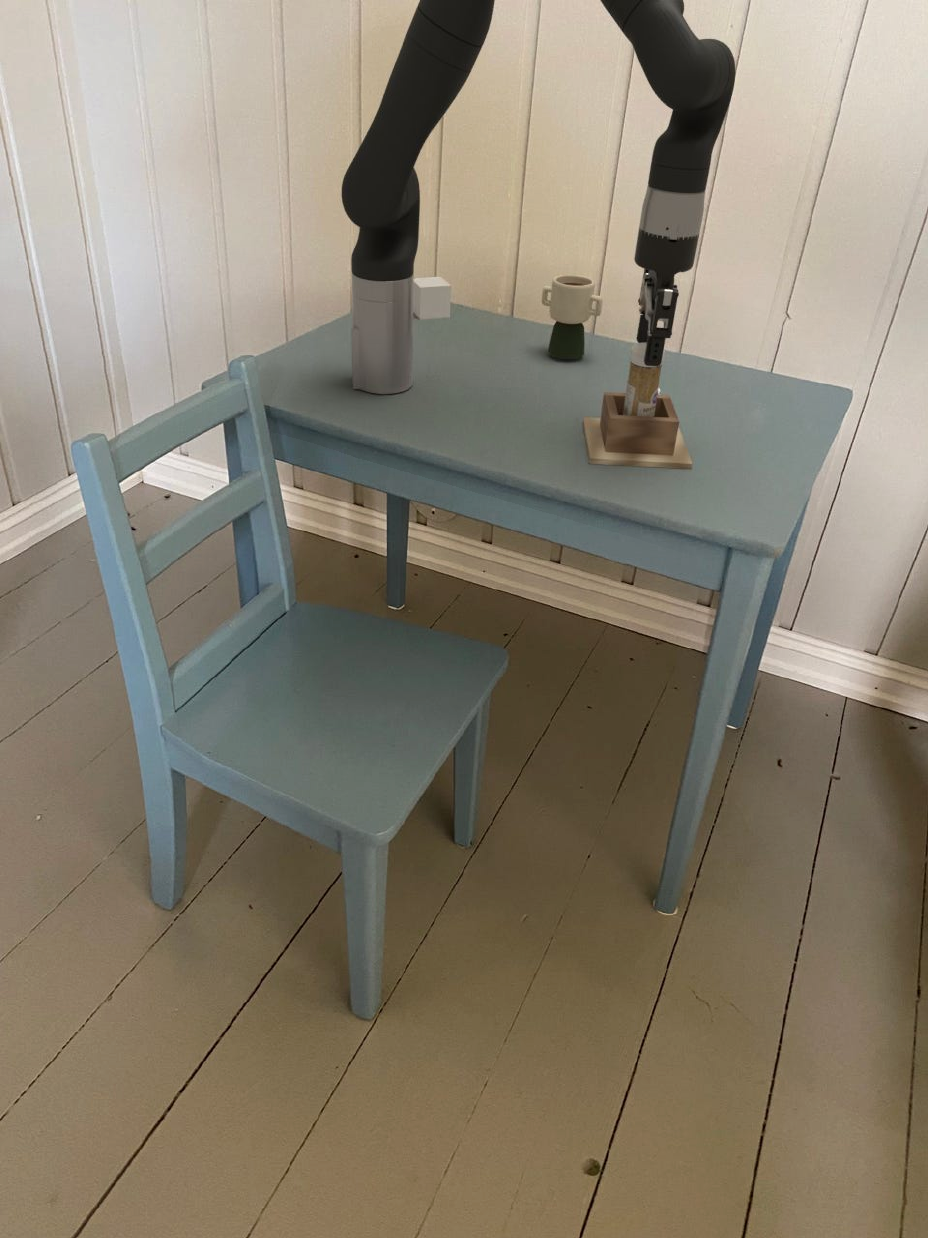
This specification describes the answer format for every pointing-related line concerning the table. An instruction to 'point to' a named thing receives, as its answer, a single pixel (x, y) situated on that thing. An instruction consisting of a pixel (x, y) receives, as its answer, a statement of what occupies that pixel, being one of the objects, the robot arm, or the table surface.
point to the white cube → (431, 298)
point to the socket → (636, 436)
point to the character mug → (570, 313)
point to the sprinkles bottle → (641, 384)
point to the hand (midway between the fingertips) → (647, 353)
